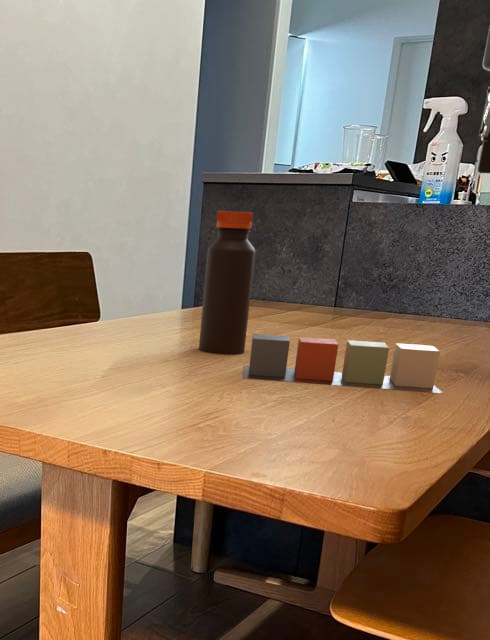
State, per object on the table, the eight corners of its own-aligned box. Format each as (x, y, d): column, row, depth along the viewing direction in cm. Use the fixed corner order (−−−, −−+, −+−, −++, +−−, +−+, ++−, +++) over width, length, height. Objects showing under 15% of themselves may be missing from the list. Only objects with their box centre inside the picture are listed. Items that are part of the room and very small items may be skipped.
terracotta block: (330, 375, 112) (335, 339, 110) (333, 381, 108) (338, 344, 106) (294, 372, 113) (298, 336, 111) (295, 378, 109) (300, 341, 107)
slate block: (284, 371, 113) (288, 336, 111) (285, 377, 109) (289, 340, 107) (248, 369, 114) (252, 333, 112) (248, 374, 110) (252, 338, 108)
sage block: (378, 378, 111) (384, 342, 109) (382, 384, 107) (389, 347, 105) (341, 375, 112) (347, 340, 110) (345, 382, 108) (350, 345, 106)
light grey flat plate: (427, 383, 113) (428, 378, 113) (442, 398, 104) (443, 393, 103) (243, 369, 117) (243, 365, 116) (242, 382, 107) (242, 378, 107)
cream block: (426, 382, 110) (433, 345, 109) (433, 388, 106) (440, 351, 104) (389, 379, 111) (395, 343, 109) (394, 385, 107) (401, 348, 105)
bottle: (207, 358, 124) (221, 211, 117) (192, 350, 130) (204, 210, 123) (251, 358, 126) (267, 213, 119) (233, 351, 132) (248, 212, 125)
